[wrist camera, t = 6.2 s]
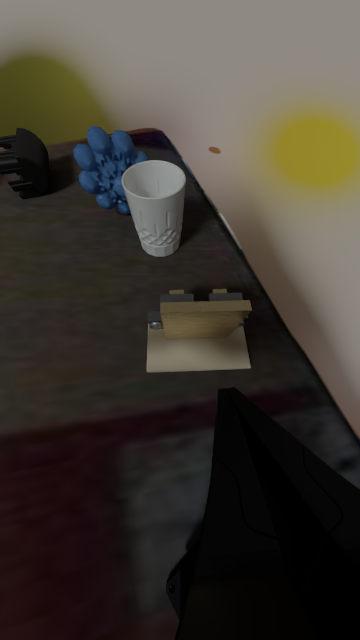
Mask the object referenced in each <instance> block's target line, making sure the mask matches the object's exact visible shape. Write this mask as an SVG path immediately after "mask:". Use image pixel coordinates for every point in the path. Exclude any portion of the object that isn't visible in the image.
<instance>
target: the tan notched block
mask: <svg viewBox="0 0 360 640" xmlns="http://www.w3.org/2000/svg"><path fill="white" fill-rule="evenodd" d="M212 293H227V289H213V290H212ZM170 294H184V290H170ZM251 311H252V308H251V303H250V300H240V301H201V302H163V303H161V304H160V313H161V318H162V322H163V327H164V332H165V337H166V339H193V338H225V337H229V335H230V334H231V333H232V332H233V331H234V330H235V329H236V328H237V326H238V325H239V324H240V323H241V322H242V321H243V320H244V319H245V318H246V316H247V315H248V314H249V313H250V312H251Z"/></svg>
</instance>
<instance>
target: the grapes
mask: <svg viewBox="0 0 360 640" xmlns="http://www.w3.org/2000/svg"><path fill="white" fill-rule="evenodd" d="M111 137H112V141H111V139H110V137H109V135H108V134H107V133H106V132H105V131H104V130H103V129H101V128H100V127H95V126H92V127H91V128H90V129H89V130H88V132H87V138H88V143H89V145H90V147H91V148H92V149H91V148H90V147H89V146H87V145H84V144H78V145H77V146H76V147H75V148H74V150H73V151H74V157H75V160H76V161H77V163H78V165H79V166H80V167H82V168H83V169H84V171H82V172H81V173H80V174H79V182H80V184H81V186H82V187H83V189H85V190H86V191H88V192H89V193H92V194H96V200H97V202H98V204H99V205H100V206H101V207H102V208H104V209H107V210H110V209H113V208H114V207H115V205H116V208H117V210H118V211H119V212H120V213H122V214H125V215H127V214H130V213H131V212H130V208H129V205H128V202H127V199H126V195H125V192H124V189H123V186H122V176H123V174H124V172H125V171H126V170H127V169H128V168H129V167H131V166H133V165H135V164H137V163H140V162H144V161H149V160H148V157H147V156H146V155H145V154H144V153H143V152H142V151H134V144H133V142H132V140H131V138H130V137H129V135H128V134H127V133H126V132H124V131H120V130H116V131H115V132H114V133H113V134H112V136H111Z"/></svg>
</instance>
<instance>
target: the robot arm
mask: <svg viewBox="0 0 360 640" xmlns="http://www.w3.org/2000/svg"><path fill="white" fill-rule="evenodd" d="M171 584H173V585H174V586H175V587H174V588H173V589H172V588H170V585H171ZM166 592H167V595H168V597H169V599H170V601H171V603H172V606H173V608H174V610H175V612H176V614H177V616H178V618H179V620H180V622H179V625H178V629H177V633H176V636H175V640H360V489H359V488H357V487H356V486H354V485H353V484H352V483H350V482H349V481H348V480H346V479H345V478H344V477H343V476H341V475H340V474H339V473H337V472H336V471H335V470H333V469H332V468H331V467H329V466H328V465H327V464H326V463H325V462H323V461H322V460H321V459H320V458H318V457H317V456H316V455H315V454H313V453H312V452H311V451H310V450H309V449H308V448H306V447H305V446H304V445H303V446H302V444H301V443H300V442H299V441H298V440H297V439H296V438H294V437H293V436H292V435H291V434H290V433H288V432H287V431H286V430H285V429H284V428H283V427H281V426H280V425H279V424H278V423H277V422H275V421H274V420H273V419H272V418H271V417H269V416H268V415H267V414H266V413H265V412H264V411H262V410H261V409H260V408H259V407H258V406H256V405H255V404H254V403H253V402H252V401H251V400H249V399H248V398H247V397H246V396H245V395H243V394H242V393H241V392H240V391H239V390H237V389H236V388H235V387H228V388H219V389H217V402H216V416H215V430H214V444H213V457H212V469H211V479H210V486H209V492H208V498H207V503H206V509H205V514H204V519H203V524H202V529H201V534H200V539H199V540H198V542H197V543H196V544H195V545H194V546H193V547H192V548H191V549H190V551H189V552H188V553H187V554H186V555H185V556H184V557H183V558H182V559H181V561H180V565H179V566H178V568H177V569H176V570H175V571H174V572H173V573H172V574H171V575H170V577H169V578H168V579H167V583H166Z"/></svg>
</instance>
